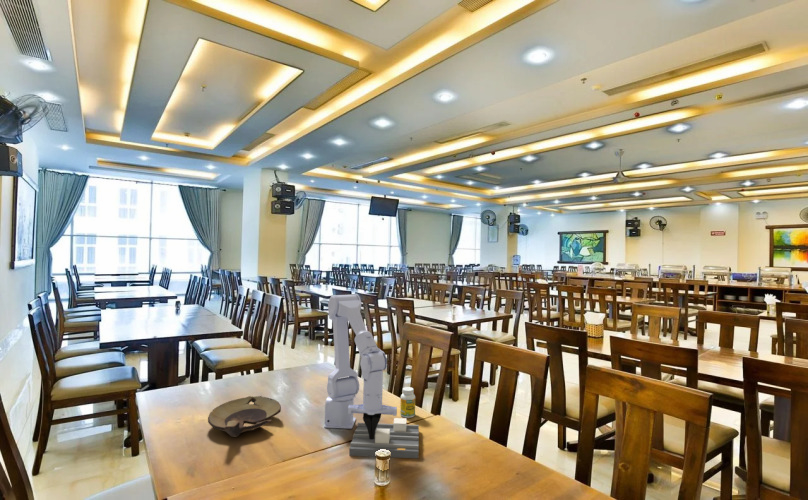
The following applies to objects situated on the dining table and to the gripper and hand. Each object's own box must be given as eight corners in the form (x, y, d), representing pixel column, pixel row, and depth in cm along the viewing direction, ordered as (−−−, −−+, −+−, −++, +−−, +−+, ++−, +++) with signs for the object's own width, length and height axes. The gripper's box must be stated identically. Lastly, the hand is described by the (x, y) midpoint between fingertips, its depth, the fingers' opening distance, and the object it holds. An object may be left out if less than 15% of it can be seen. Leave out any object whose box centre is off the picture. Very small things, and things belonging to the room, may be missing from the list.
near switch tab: (375, 444, 117) (375, 434, 117) (376, 438, 121) (376, 428, 121) (388, 445, 117) (388, 435, 117) (389, 438, 121) (389, 428, 121)
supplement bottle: (409, 411, 147) (410, 385, 147) (417, 416, 143) (418, 389, 143) (397, 414, 144) (397, 387, 144) (405, 419, 140) (406, 392, 140)
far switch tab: (393, 432, 125) (393, 423, 125) (394, 427, 129) (394, 417, 129) (405, 433, 124) (406, 423, 124) (406, 427, 128) (406, 418, 128)
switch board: (349, 455, 115) (349, 445, 115) (358, 428, 132) (358, 420, 132) (418, 458, 114) (418, 448, 114) (418, 431, 131) (418, 422, 131)
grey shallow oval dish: (293, 414, 142) (294, 392, 142) (239, 455, 113) (239, 429, 113) (240, 406, 148) (240, 386, 148) (174, 444, 119) (175, 419, 119)
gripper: (346, 396, 115) (345, 443, 115) (396, 398, 114) (395, 445, 114) (350, 388, 122) (349, 432, 122) (397, 389, 122) (396, 434, 122)
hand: (371, 437), depth 119 cm, fingers closed
